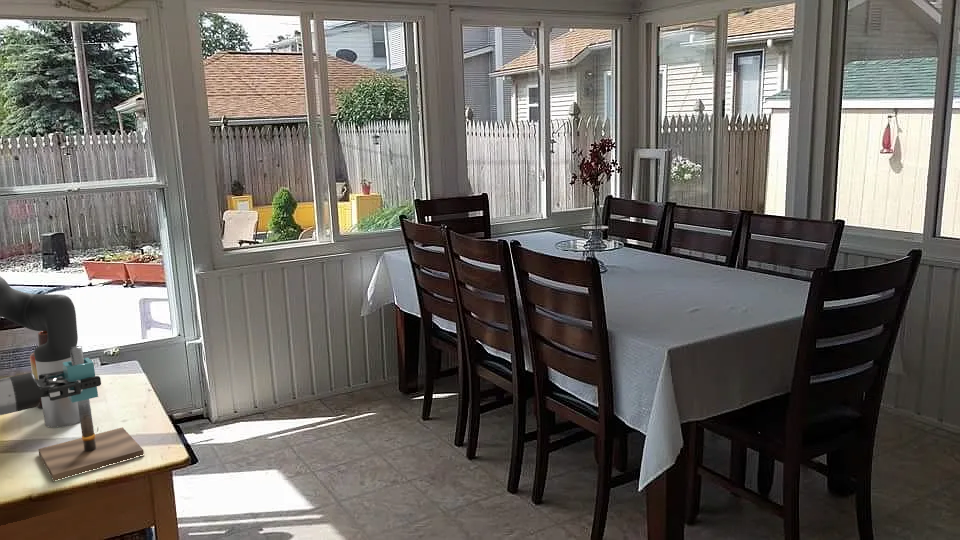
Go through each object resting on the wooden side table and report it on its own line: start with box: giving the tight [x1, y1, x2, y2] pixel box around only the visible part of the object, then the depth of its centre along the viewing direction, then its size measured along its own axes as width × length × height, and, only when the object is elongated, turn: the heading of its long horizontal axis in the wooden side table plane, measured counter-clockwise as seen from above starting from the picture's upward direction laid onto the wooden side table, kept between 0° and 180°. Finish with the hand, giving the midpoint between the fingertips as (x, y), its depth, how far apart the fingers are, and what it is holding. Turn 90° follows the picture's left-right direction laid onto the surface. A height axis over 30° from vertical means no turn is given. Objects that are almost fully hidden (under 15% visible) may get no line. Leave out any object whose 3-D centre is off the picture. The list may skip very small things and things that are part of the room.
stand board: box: [38, 427, 145, 482], centre depth 167 cm, size 18×18×2 cm
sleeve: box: [63, 357, 99, 403], centre depth 164 cm, size 5×5×8 cm
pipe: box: [70, 345, 96, 452], centre depth 165 cm, size 3×3×24 cm
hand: (96, 376), depth 166 cm, fingers open, 7 cm apart
